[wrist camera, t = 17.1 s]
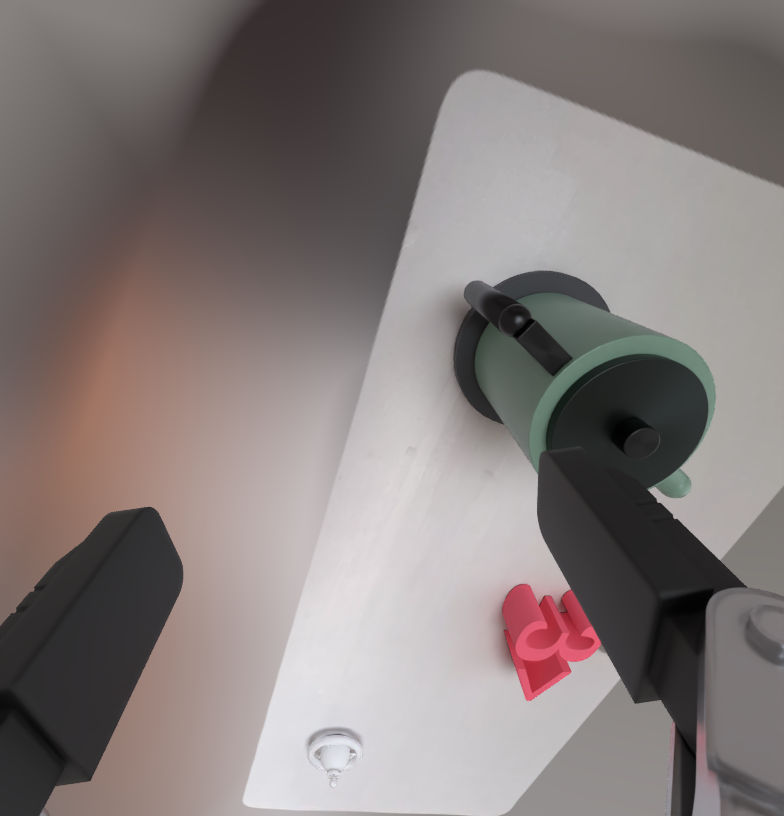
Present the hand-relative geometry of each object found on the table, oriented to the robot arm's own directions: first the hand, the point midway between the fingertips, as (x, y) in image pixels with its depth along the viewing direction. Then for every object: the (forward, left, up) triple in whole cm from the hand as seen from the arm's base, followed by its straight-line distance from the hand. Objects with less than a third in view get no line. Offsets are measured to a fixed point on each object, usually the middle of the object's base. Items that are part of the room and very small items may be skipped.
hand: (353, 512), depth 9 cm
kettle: (+16, +2, -27) cm, 31 cm away
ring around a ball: (+25, -60, -28) cm, 71 cm away
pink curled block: (+38, -28, -28) cm, 55 cm away
